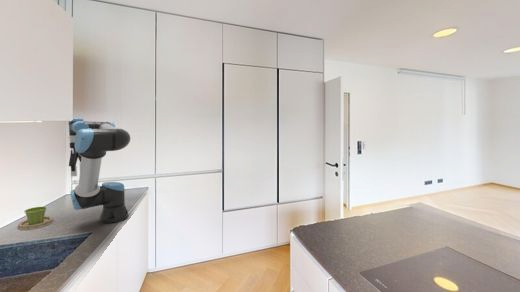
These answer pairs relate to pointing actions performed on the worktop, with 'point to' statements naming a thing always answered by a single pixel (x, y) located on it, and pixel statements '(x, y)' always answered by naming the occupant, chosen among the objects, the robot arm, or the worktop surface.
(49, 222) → the round wooden tray
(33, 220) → the plant pot
